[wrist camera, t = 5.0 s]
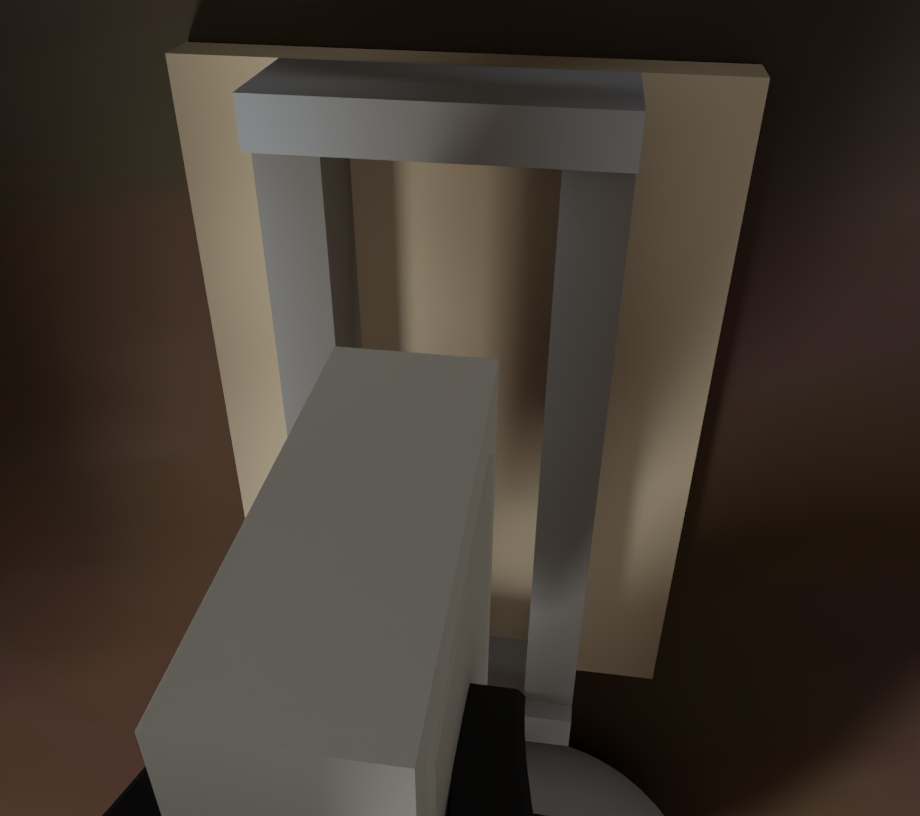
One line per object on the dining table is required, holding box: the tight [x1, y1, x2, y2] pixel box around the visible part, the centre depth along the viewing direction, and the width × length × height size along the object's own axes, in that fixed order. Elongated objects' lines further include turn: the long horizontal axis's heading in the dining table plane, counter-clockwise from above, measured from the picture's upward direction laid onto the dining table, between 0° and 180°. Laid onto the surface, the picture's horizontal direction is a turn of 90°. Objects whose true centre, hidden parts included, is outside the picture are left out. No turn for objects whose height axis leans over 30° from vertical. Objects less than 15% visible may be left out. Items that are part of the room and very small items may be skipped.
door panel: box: [135, 346, 499, 816], centre depth 11 cm, size 2×8×6 cm, turn 0°
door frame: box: [165, 42, 770, 746], centre depth 16 cm, size 9×13×3 cm
